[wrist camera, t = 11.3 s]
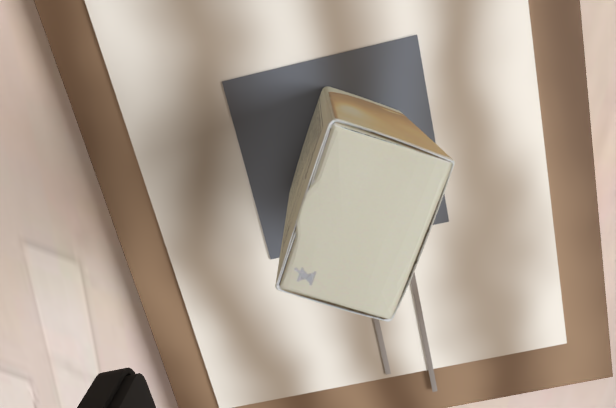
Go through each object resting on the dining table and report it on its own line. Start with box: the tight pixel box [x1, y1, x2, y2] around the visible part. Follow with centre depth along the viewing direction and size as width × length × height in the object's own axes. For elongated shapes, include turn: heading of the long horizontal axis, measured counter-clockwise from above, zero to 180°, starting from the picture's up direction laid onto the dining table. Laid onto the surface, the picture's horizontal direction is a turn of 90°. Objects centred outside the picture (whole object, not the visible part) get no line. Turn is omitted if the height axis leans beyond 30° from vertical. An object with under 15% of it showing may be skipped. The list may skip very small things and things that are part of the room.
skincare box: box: [275, 86, 455, 322], centre depth 24 cm, size 6×4×12 cm
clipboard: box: [34, 0, 613, 408], centre depth 30 cm, size 26×34×3 cm
